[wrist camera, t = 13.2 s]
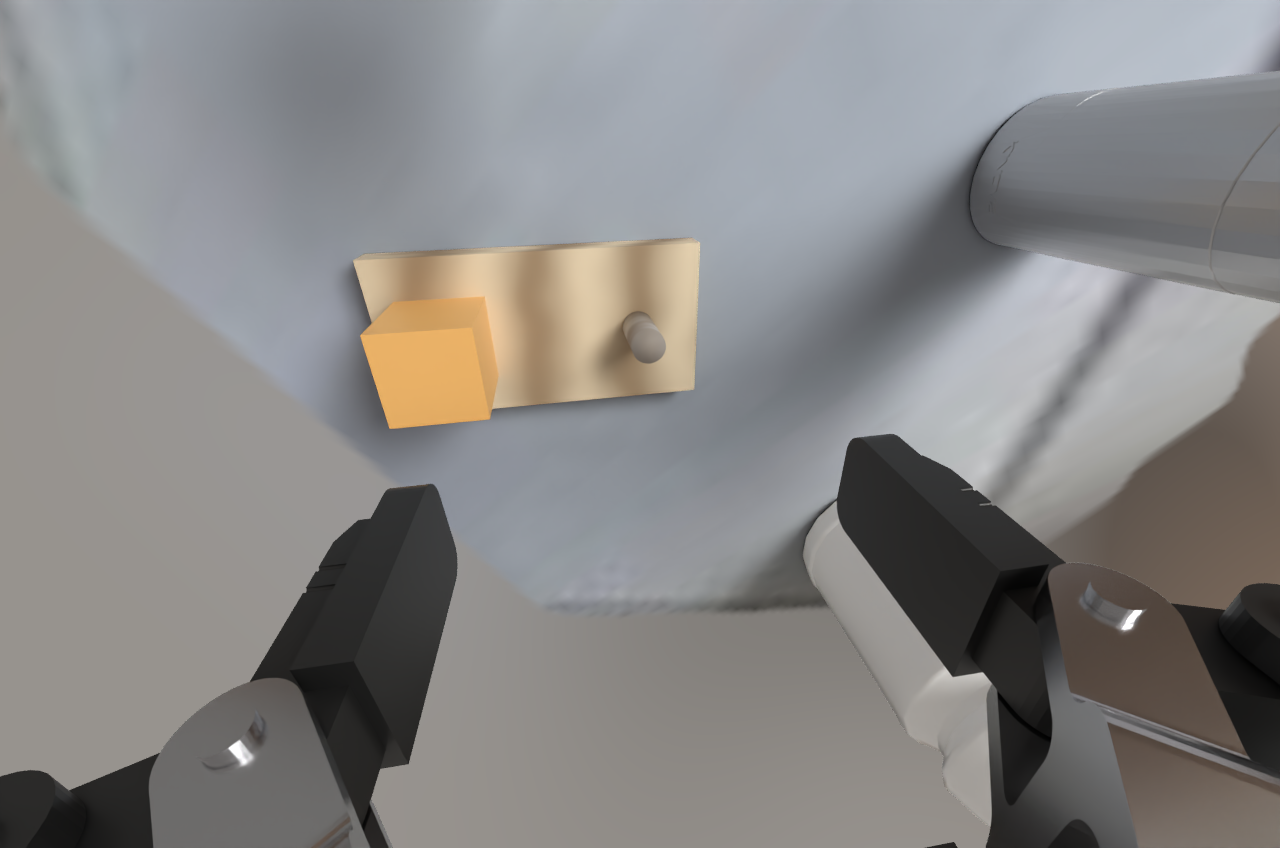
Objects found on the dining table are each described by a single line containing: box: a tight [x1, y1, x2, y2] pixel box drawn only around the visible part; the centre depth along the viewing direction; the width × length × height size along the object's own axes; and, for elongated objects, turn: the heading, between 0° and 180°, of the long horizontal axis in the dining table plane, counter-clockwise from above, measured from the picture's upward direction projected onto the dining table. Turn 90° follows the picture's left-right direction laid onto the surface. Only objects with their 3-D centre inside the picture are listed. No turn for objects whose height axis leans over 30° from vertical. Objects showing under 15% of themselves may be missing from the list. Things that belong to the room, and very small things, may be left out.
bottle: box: [803, 501, 992, 827], centre depth 36 cm, size 14×14×28 cm
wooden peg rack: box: [353, 238, 700, 409], centre depth 30 cm, size 20×10×6 cm, turn 91°
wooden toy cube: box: [360, 296, 499, 429], centre depth 27 cm, size 5×5×6 cm
